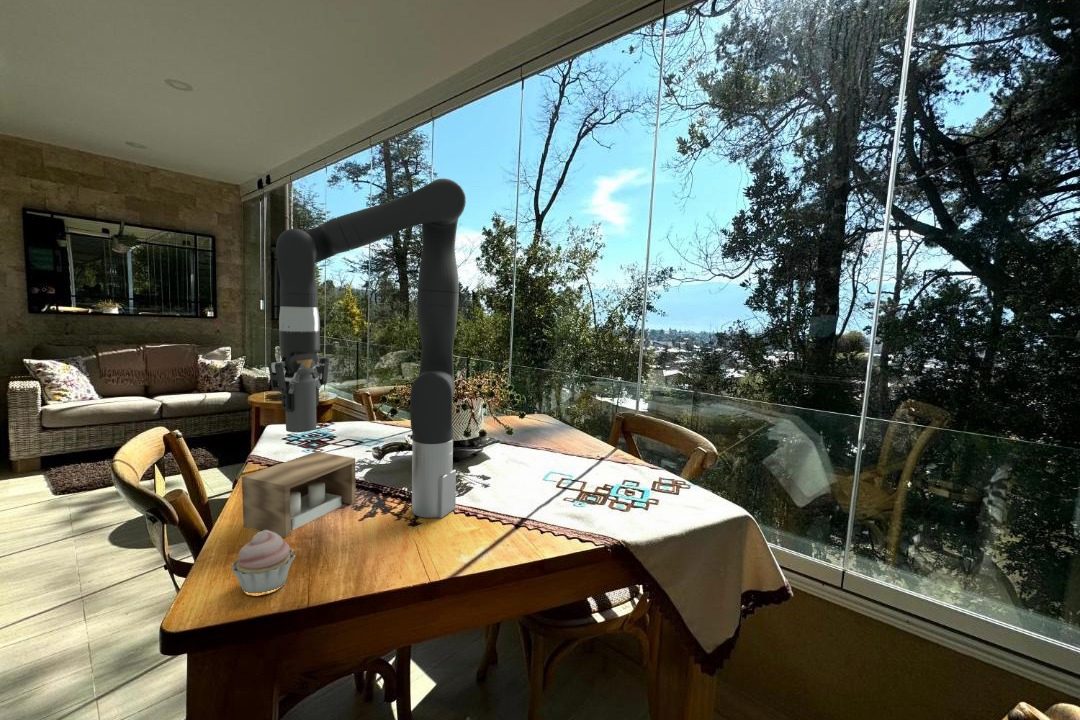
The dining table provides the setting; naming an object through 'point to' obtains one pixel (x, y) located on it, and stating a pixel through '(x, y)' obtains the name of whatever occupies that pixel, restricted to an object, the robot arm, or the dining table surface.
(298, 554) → the dining table surface
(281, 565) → the cupcake
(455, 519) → the dining table surface
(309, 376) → the bottle
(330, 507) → the shelved tray
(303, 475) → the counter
